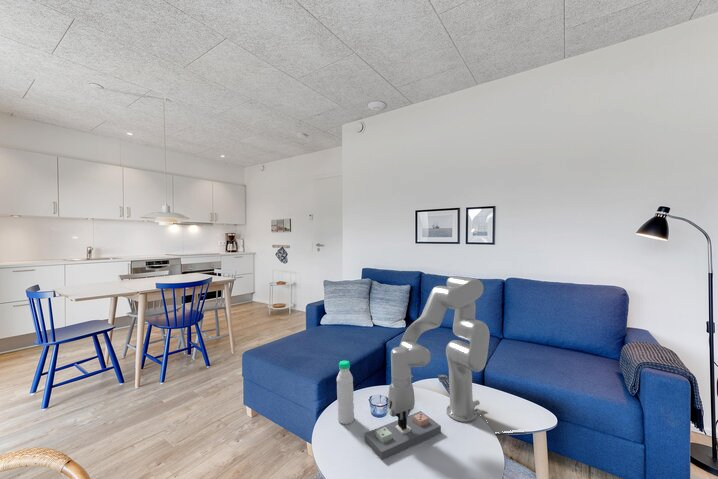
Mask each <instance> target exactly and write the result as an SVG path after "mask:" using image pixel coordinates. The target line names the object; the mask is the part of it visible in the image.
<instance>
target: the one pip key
mask: <svg viewBox="0 0 718 479" xmlns="http://www.w3.org/2000/svg"><path fill="white" fill-rule="evenodd" d="M395 429H396V430H397V431H398V432H399V433H400V434H401V435H404V434H406V433H408V432H411V428H410V427H409V426H408V425H407V429H404V430H403V429H401V428H400V427H399V425H397V426H395Z"/></svg>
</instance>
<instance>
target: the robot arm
mask: <svg viewBox="0 0 718 479" xmlns="http://www.w3.org/2000/svg"><path fill="white" fill-rule="evenodd" d="M445 284H446V286H445V285H437V286H434V287H433V288H432V289H431V292H430V293H429V296H428V298H427V300H426V303H425V305H424V308H423V310H422V313H421V314H420V316H419V317H418V318H417V319H416V320H414V321H413V322H412V323H411V324H410V325H409V326H408V327H407V328H406V330H405V332H404V334H403V335H402V338H401V340H400V343H399V346H396V347H393V348H392V349H391V351H390V363H391V364H390V367H391V369H390V370H391V372H390V373H391V383H390V384H389V386H388V395H387V408H388V409H389V410H390V412H389V416H391V417H396V418H397V420H398V425H399V427H400V428H401V429H403V430H404V429H407V418H408V416H409V414H410V412H411V411H412V410H414V408H415V405H416V404H415V402H416V401H415V391H414V385H413V382H412V379H413V374H412V368H418V367H419V368H420V367H422V368H423V367H425V366H427V365H429V363H430V362H431V359H432V354H431V352H430V351H429V350H428V348H426V347H424V346H422V345H420V344H419V343H417V341H418V339H419V338H420V336H421V335H422V334H423V333H424V332H426V331H430V330H432V329H437V328H439V327H440V326H441V325H442V322H443V320H444V316H445V314H446V312H447V309H451V310H454V315H453V316H454V317H453V324H452V332H453V335H455V336H456V337H458V338H460V339H462V340H465V341H468V342H469V343H468V342H465V341H462V340H457V339H454V340H451V341H449V342H448V343H447V345H446V348H445V355H446V360H447V365H448V386H449V405H447V407H446V414H447V416H448V417H449V418H451V419H453V420H454V421H458V422H461V423H462V422H464V423H469V422H473V421H474V420H476V419H477V417H478V414H477V413H478V412H477V410H476V409H475V408H476V406H479V405H480V404H481V402H480V400H479V399H476V400H473V374H472V372H476V373H478V372H481V371H483V370H484V368H485V366H486V365H487V364H486V363H487V360H488V354H489V352H488V351H489V344H490V330H489V327H488V325H487V324H486V323H485V322H484V321H482V320H479V319H476V309H477V308H476V307H477V306H476V300H478V299H479V298H481V296H482V295H483V293H484V285H483V282H482V281H481V280H479V279H477V278H474V277H466V276H461V275H452V276H449V277H448V278H447V280H446V283H445Z"/></svg>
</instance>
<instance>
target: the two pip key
mask: <svg viewBox="0 0 718 479" xmlns="http://www.w3.org/2000/svg"><path fill="white" fill-rule="evenodd" d="M376 438H377V439H378V440H379V441H380V442H381V443H382V444H383V443H385V442H387V441H390V440H392V433H391V432H390V431H389V430H388V429H387V428H386V427H384V428H382V429H379V430H377V431H376Z"/></svg>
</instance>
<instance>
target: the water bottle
mask: <svg viewBox="0 0 718 479" xmlns="http://www.w3.org/2000/svg"><path fill="white" fill-rule="evenodd" d="M350 363H351V362H350V361H349V360H341V361H339V363H338V368H339V372H338V374H337V376H336V396H337V398H336V399H337V420H338V422H339V423H341V424H342V425H348V424H350V423H353V421H355V412H354V410H355V404H354V383H353V382H354V377H353V375H352V373H351V371H350V368H351V364H350Z"/></svg>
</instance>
